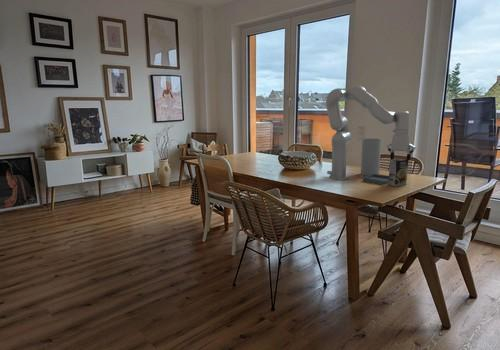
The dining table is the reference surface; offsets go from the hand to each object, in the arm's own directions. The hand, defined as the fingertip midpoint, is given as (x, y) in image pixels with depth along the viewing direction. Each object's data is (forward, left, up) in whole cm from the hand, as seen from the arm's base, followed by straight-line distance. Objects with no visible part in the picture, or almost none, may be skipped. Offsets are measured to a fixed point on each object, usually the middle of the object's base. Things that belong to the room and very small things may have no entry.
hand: (400, 159), depth 214 cm
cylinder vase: (-27, +16, -16) cm, 35 cm away
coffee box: (-1, 0, -16) cm, 16 cm away
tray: (-14, +2, -16) cm, 21 cm away
